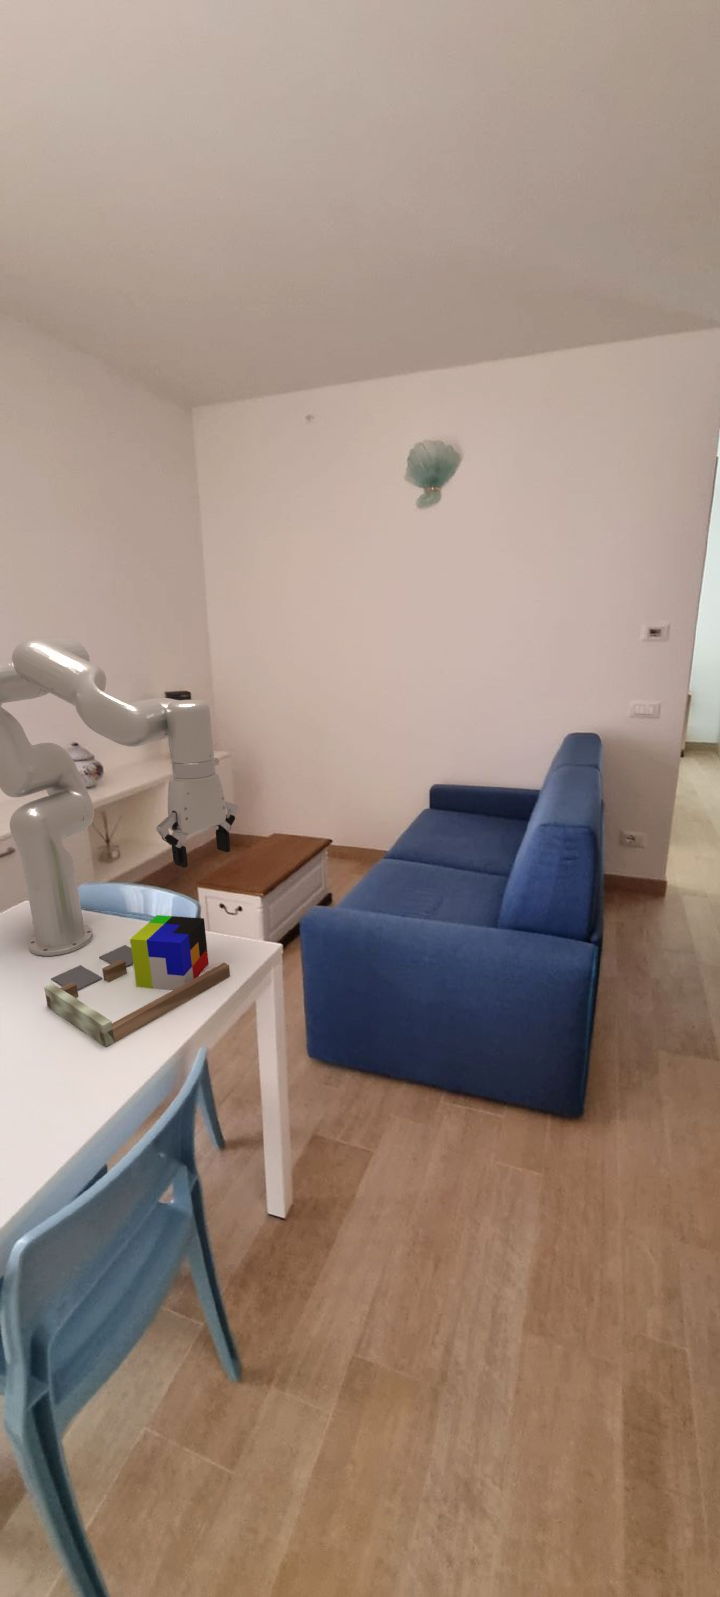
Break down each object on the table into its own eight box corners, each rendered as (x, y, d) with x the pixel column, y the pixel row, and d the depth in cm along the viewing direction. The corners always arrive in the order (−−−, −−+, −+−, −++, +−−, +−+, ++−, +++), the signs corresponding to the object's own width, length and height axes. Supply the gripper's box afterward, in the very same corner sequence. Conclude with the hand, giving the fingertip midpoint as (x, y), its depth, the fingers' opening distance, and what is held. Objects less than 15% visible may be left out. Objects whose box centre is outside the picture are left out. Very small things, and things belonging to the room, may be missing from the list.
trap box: (47, 1006, 115) (44, 987, 114) (169, 948, 135) (167, 930, 134) (106, 1047, 104) (102, 1025, 103) (230, 976, 123) (228, 957, 122)
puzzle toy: (185, 991, 119) (180, 943, 116) (136, 987, 121) (130, 939, 118) (208, 964, 128) (204, 918, 126) (162, 960, 130) (157, 915, 128)
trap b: (99, 957, 132) (98, 956, 131) (125, 946, 136) (125, 944, 136) (121, 970, 127) (121, 968, 127) (147, 957, 131) (147, 956, 131)
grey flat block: (51, 979, 124) (51, 978, 124) (80, 966, 129) (80, 965, 128) (72, 993, 119) (72, 991, 119) (102, 978, 124) (102, 977, 124)
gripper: (219, 758, 125) (227, 841, 130) (139, 776, 112) (151, 867, 117) (244, 762, 120) (251, 849, 125) (164, 781, 108) (175, 877, 112)
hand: (203, 857), depth 121 cm, fingers open, 9 cm apart
